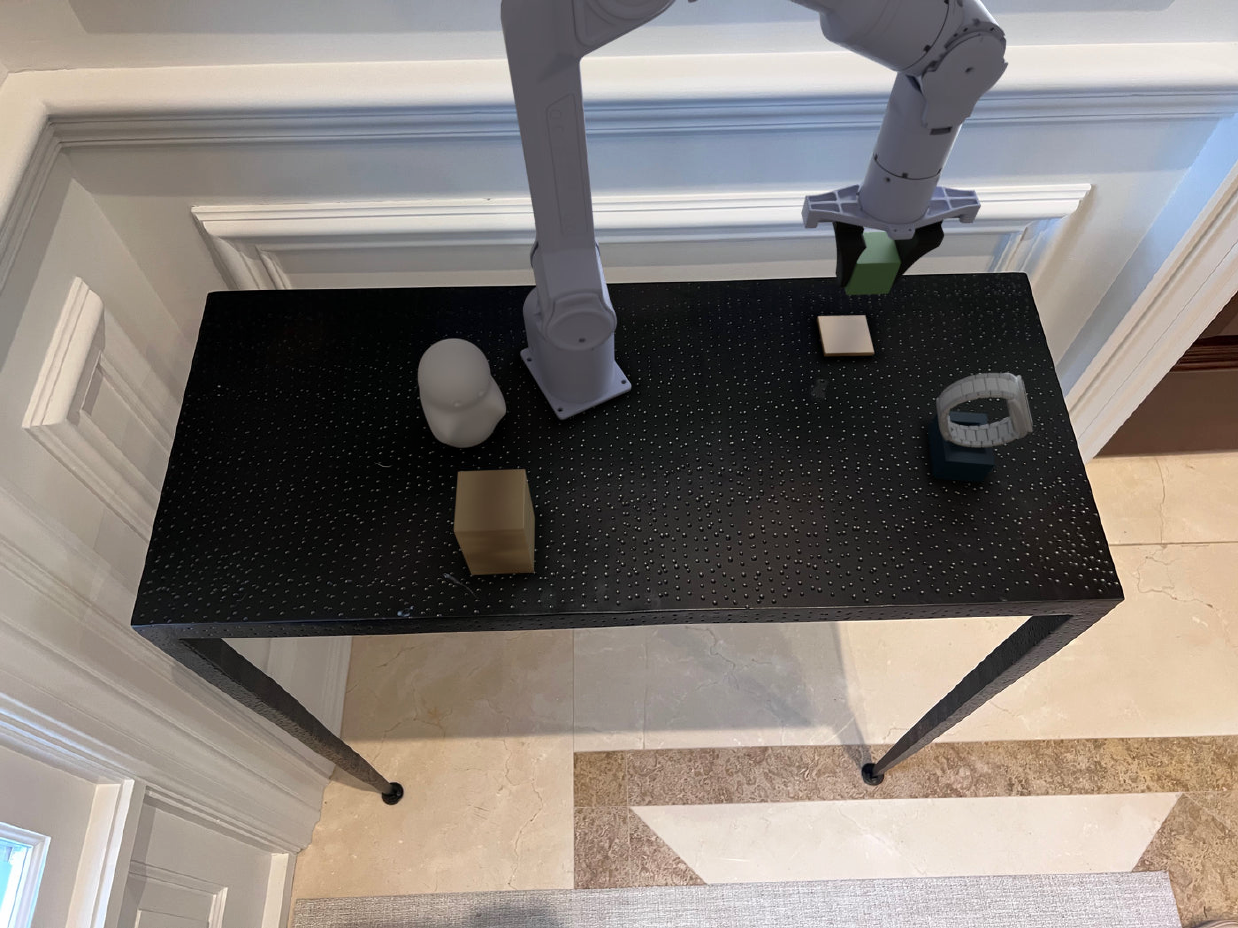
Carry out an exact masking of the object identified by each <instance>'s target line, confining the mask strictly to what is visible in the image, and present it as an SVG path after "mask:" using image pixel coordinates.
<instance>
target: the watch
mask: <svg viewBox="0 0 1238 928" xmlns="http://www.w3.org/2000/svg"><path fill="white" fill-rule="evenodd" d="M986 398H987V399H988V398H998V399H1001V398H1002V399H1005V401H1006V405H1007V410H1008V414H1009V416H1007V417H1005V418H1003V419H1001V420H999V421H994V422H991V423H989V421H988V416H987V415H988V414H987V413H981V412H980V413H979V412H967V411H965V412H964V411H952V410H951V409H953V408H954V407H956V406H958V405H960V404H962V403H965V402H968V401H973V400H978V399H986ZM935 403H936V404H935V405H936V414H935V416H934V418H933V419H932V421H931V423H930V424H929V426H928V427H927V435H928V443H929V451H930V459H931V469H932V476H933V479H937V480H948V481H961V482H971V483H972V482H973V483H982V482H983V481H984V480H985V478H987V476H988V475H989V473H990V472H991V471H992V470H993V469H994V467H995V466H996V462H995V456H994V451H993V446H994V447H996V446H1001V445H1004V444H1007V443H1010V442H1012V441H1014V440H1017V439H1023V438H1024V437H1025V436H1027V433H1033V431H1034V427H1033V426H1034V425H1033V420H1032V414H1031V409H1030V405H1029V401H1028V395H1027V392H1026V387H1025V383H1024V380H1023V377H1022V375H1021V374H1019V375H1015V374H1013V373H1010V372H1004V373H999V372H988V373H987V372H985V373H977V374H975V375H974V374H972V375H969V376H967V377H964V378H962V379H959V380H956V381H955V382H954V383H951V384H950V385H948V386H947V387H946V388H945V389H944V390H943V391H941V393H940V395H939V396H938V397H937V398H936V401H935Z"/></svg>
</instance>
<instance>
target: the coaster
mask: <svg viewBox="0 0 1238 928" xmlns="http://www.w3.org/2000/svg"><path fill="white" fill-rule="evenodd" d="M816 323H817V327H818V332H819V337H820V342H821V347H822V352H823V356H824V357H857V356H858V357H859V356H860V357H861V356H873V355H874V354H875V350H874V347H873V342H872V338H871V334H870V330H869V326H868V322H867V317H866V315H865V314H864V315H863V314H862V315H858V314H857V315H818V316H817V318H816Z"/></svg>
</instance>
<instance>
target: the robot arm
mask: <svg viewBox="0 0 1238 928" xmlns="http://www.w3.org/2000/svg"><path fill="white" fill-rule="evenodd" d="M676 1H677V0H501V2H500V15H499V16H500V17H499V18H500V23H501V30H502V35H503V41H504V47H505V53H506V59H507V65H508V70H509V76H510V82H511V83H510V84H511V89H512V94H513V101H514V104H515V105H514V107H515V112H516V113H515V114H516V118H517V123H518V129H519V135H520V141H521V148H522V153H523V161H524V165H525V171H526V177H527V183H528V188H529V189H528V190H529V195H530V200H531V201H530V202H531V208H532V213H533V219H534V228H535V238H534V242H533V243H532V246H531V249H530V252H529V263H530V267H531V269H532V271H533V277H534V282H535V287H534V288H533V289H531V291H530V292H529V293H528V295H527V296H526V298H525V301H524V303H523V306H522V314H523V321H524V327H525V333H526V334H525V335H526V341H527V346H528V347H526V348H524V349H522V350H521V351H520V352H519V354H520V357H521V359H522V361H523V362H524V364H525V365H526V368H527V369H528V370H529V372H530V374H531V376H532V377H533V379H534V381H535V382H536V384H537V386H538V387H539V389H540V391H541V392H542V393H543V395H544V397H545V399H546V400H547V402H548V403H549V406H550V407H551V409H552V410H553V412H554V413H555V415H556V416H557V418H558V419H559V420H562V421H563V420H566V419H568V418H571V417H573V416H575V415H578V414H580V413H582V412H584V411H587V410H589V409H591V408H594V407H596V406H598V405H600V404H603V403H605V402H607V401H610V400H612V399H615V398H616V397H619V396H621V395H623V394H625V393H627V392H630V391H631V389H632V384H631V382H630V381H629V380H628V378H627V377H626V375H625V374H624V372H623V370H622V369H621V368H620V366H619V365H618V363H617V362H616V360H615V331H616V329H617V324H618V320H617V319H618V318H617V315H616V312H615V310H614V307H613V303H612V302H611V299H610V294H609V289H608V285H607V282H606V278H605V274H604V268H603V264H602V261H601V250H600V245H599V242H598V240H597V238H596V235H595V222H594V211H593V210H594V209H593V199H592V187H591V175H590V164H589V153H588V141H587V130H586V128H587V127H586V118H585V108H584V107H585V105H584V96H583V95H584V94H583V83H582V82H583V81H582V72H581V71H582V70H581V61H582V59H583V57H586V56H588V54H591V53H593V52H595V51H596V50H598V49H601V48H602V47H604V46H606V45H608V44H609V43H612V42H614V41H615V40H616V41H617V39H619V38H622V37H623V36H625V35H627V34H629V33H631V32H633V31H635V30H637V29H638V28H640V27H642V26H644V25H646V24H649V23H650V22H651V21H653V20H655V19H656V18H658V17H660V16H661V15H662V14H664V13H665V12H666V11H668V10H669V9H670V8H671V7H672V6H673V5H674V4H675V3H676ZM787 1H788V2H791V3H793V4H796V5H799V6H801V7H803V8H806V9H808V10H811V11H813V12H816V13H818V16H819V26H820V30H821V32H822V35H823V37H824V38H825V39H826V40H827V41H828V42H830V43H833V44H835V45H837V46H838V47H841V48H843V49H845V50H848V51H850V52H852V53H854V54H856V55H857V56H861V57H863V58H865V59H867V60H869V61H871V62H874V63H876V64H878V65H880V66H882V67H884V68H886V69H889V70H890V71H893V72H895V73H896V76H895V79H894V82H893V85H892V88H891V91H890V95H889V98H888V101H887V105H886V107H885V111H884V114H883V117H882V120H881V124H880V127H879V129H878V133H877V136H876V139H875V142H874V144H873V145H874V146H873V148H872V152H871V155H870V157H869V160H868V164H867V167H866V171H865V173H864V177H863V180H862V181H860V182H856V183H854V184H851V185H847V186H844V187H840V188H838V189H834V190H831V191H828V192H823V193H818V194H807V195H805V197H804V200H803V203H802V204H803V205H802V209H801V214H800V215H801V219H802V223H803V226H804V229H817V228H818V224H825V223H829V224H830V223H831V224H832V227H833V233H834V239H835V246H836V249H835V250H836V263H835V264H836V265H835V278H836V281H837V285H838V288H841V289H842V288H844V287H846V286H847V285H848V283H849V281H850V279H851V276H852V273H853V270H854V267H855V265H856V263H857V261H858V259H859V257H860V256H861V254H862V253H863V251H864V250H865V249H866V248H867V246H866V243H865V239H864V236H863V232H865V228H868V229H873V230H877V231H881V232H887V235H888V237H889V238H890V239H893V240H894V241H895V244H896V248H897V251H898V254H899V257H900V260H901V264H900V267H899V269H898V272H897V274H896V276H895V279H894V281H893V284H892V286H891V287H894V286H895V285H896V284H897V283H898V281H899V280H900V279H901V278H902V277H903V275H904V274H905V273H907V271H908V270H909V269H910V268H911V267H912V265H915V263H916V262H917V261H918V260H920V259H921V258H923V257H924V256H925V255H927V254H928V253H930V252H932V251H933V250H936V249H937V248H940V246H941V244H942V243H943V240H944V239H945V232H944V230H943V227H942V225H943V223H944V220H949V219H950V220H951V219H958V221H959V223H961V224H973V223H974V222H975V219H976V217H977V216H978V213H979V211H980V209H981V208H982V204H981V201H980V199H979V197H978V194H977V191H976V190H975V189H959V188H951V187H946V186H942V185H938V183H939V181H940V179H941V176H942V174H943V171H944V169H945V167H946V164H947V162H948V160H949V157H950V155H951V152H952V151H953V148H954V146H955V143H956V141H957V138H958V135H959V133H960V131H961V128H962V126H963V124H964V123H965V121H966V120H967V119H969V118H971V115H972V114H973V111H974V108H975V106H976V104H977V103H978V101H979V100H980V99H981V98H982V97H983V96H984V95H985V94H986V93H987V92H988V91H990V90H991V89H992V88H993V87H995V85H996V83H998V82H999V81H1000V79H1001V78H1002V76H1003V75H1004V73H1005V72H1006V70H1007V68H1008V66H1009V62H1008V61H1006V59H1005V58H1004V56H1005V54H1006V50H1007V38H1006V37H1005V36H1006V34H1005V31H1004V30H1003V29H1002V27H1001V26H1000V25H999V23H998V21H996V19H995V18H994V17H993V15H992V14H991V13H990V12H989V11H988V9H987V8H986V6H985V5H984V3H983V2H982V1H981V0H787ZM696 2H698V0H687V3H688V4H692V3H696Z"/></svg>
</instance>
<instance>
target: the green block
mask: <svg viewBox="0 0 1238 928" xmlns="http://www.w3.org/2000/svg"><path fill="white" fill-rule="evenodd" d="M863 236H864V239H865V243H866V246H867V248H866V249H865V250H864V251H863V253H862V254H861V256H860V257H859V259H858V261H857V263H856V265H855V267H854V270H853V273H852V276H851V279H850V281H849V283H848V285H847V286H846V287H843V288H844V292H845V295H846V296H861V295H863V296H864V295H888V294H890V291H891V288H892V287H893V286H892V284H893V281H894V279H895V276H896V274H897V272H898V269H899V267H900V264H901V260H900V257H899V254H898V251H897V248H896V244H895V241H894V240H893V239H890V238H889V237H888V235H887V232H886V231H864V232H863Z"/></svg>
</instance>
